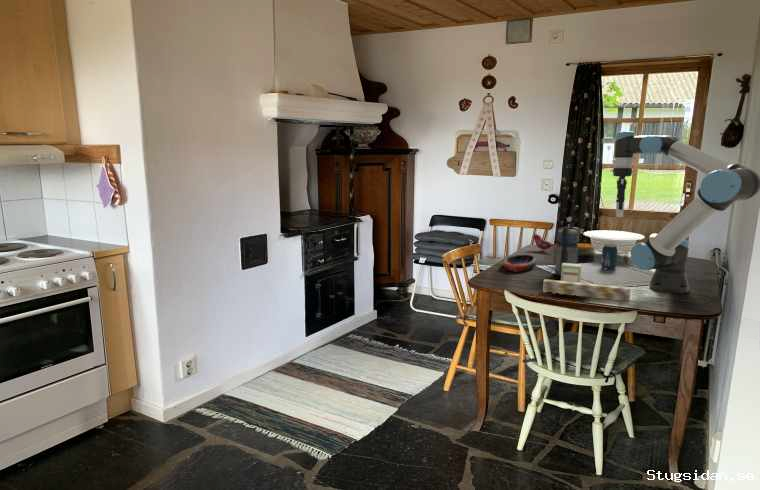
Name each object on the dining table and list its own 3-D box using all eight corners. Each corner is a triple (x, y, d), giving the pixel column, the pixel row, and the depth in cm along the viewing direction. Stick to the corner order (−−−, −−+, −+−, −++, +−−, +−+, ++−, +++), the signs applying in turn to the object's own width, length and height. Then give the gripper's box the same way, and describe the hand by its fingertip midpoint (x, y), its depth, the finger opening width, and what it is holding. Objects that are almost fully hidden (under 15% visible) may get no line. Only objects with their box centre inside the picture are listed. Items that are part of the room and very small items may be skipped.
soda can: (613, 266, 272) (615, 244, 270) (617, 270, 265) (619, 246, 263) (599, 266, 273) (601, 244, 270) (603, 269, 266) (605, 246, 264)
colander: (652, 256, 295) (654, 234, 292) (629, 266, 273) (631, 242, 271) (596, 248, 318) (597, 228, 315) (571, 256, 296) (572, 234, 294)
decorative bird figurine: (533, 249, 317) (534, 233, 315) (559, 254, 303) (560, 237, 301) (530, 250, 315) (531, 233, 313) (557, 254, 302) (558, 237, 300)
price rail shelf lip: (629, 299, 217) (630, 287, 216) (629, 301, 213) (630, 289, 212) (543, 290, 231) (544, 279, 230) (542, 292, 227) (543, 281, 226)
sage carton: (580, 285, 238) (581, 264, 236) (579, 288, 233) (580, 266, 231) (561, 283, 241) (562, 262, 239) (560, 286, 236) (561, 265, 234)
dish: (542, 263, 282) (543, 254, 281) (524, 275, 256) (525, 265, 255) (514, 260, 290) (514, 251, 289) (494, 271, 265) (494, 262, 264)
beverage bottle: (550, 276, 255) (553, 225, 250) (558, 270, 265) (561, 221, 260) (572, 279, 249) (575, 227, 244) (579, 273, 260) (582, 223, 255)
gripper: (613, 166, 244) (609, 211, 248) (614, 168, 222) (610, 218, 226) (630, 166, 241) (627, 212, 245) (633, 168, 219) (629, 219, 223)
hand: (619, 215), depth 235 cm, fingers open, 13 cm apart
